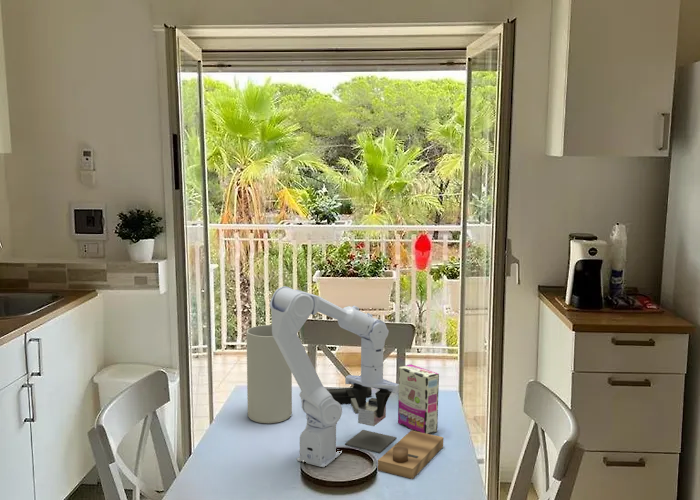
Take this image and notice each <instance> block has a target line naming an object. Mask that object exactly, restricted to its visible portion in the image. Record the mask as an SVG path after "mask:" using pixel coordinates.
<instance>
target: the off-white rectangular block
mask: <svg viewBox="0 0 700 500" xmlns="http://www.w3.org/2000/svg"><path fill="white" fill-rule="evenodd" d="M386 415H387V405H386V406H385V409H384V413H383V416H382V417H380V418H378V417H377V399H376V397H371V398H370V399H368V401H366V403H365V404H364V405H362V406H361V407H359V408H358V414H357V417H358V418H357V419H358V420H357V424H362V425H365V426H369V427H370V426H371V427H375V426H376V425H377V424H379V423H380V422H381V421H383V420H384V419H385V418H386Z"/></svg>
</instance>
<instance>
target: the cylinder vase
mask: <svg viewBox="0 0 700 500" xmlns="http://www.w3.org/2000/svg"><path fill="white" fill-rule="evenodd" d="M292 377H293V374H292V372H291V370H290V368H289V366H288V364H287V362H286V360H285V358H284V356H283V355H282V353H281V351H280V349H279V347H278V345H277V343H276V341H275V339H274V337H273V335H272V324H264V325H256V326H252V327H250V328H249V327H248V328H247V330H246V379H247V380H246V381H247V382H246V385H247V386H246V388H247V416H248V418H249V419H250V420H251V421H253V422H255V423H258V424H259V423H260V424H277V423H280V422H285V421H286V420H288V419H289V418H291V416H292V413H293V399H292V397H293V394H292V393H293V392H292V391H293V390H292V389H293V385H292V381H293V378H292Z"/></svg>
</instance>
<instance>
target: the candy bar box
mask: <svg viewBox="0 0 700 500" xmlns="http://www.w3.org/2000/svg"><path fill="white" fill-rule="evenodd" d="M439 382H440V373H438V372H435V371H432V370H430V369H425V368H424V367H420V366H418V365H414V364H407V365H403V366H399V367H398V384H399V391H398V398H397V399H398V404H397V410H398V411H397V424H399V425H401V426H403V427H406V428H408V429H410V430H412V431H417V432H421V433H426V434H431V435H433V434H435V433H437V432H438V423H439V422H438V420H439V418H438V416H439V415H438V414H439V389H440V388H439V387H440V386H439Z"/></svg>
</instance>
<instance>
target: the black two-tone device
mask: <svg viewBox="0 0 700 500" xmlns="http://www.w3.org/2000/svg"><path fill="white" fill-rule="evenodd" d="M351 388H352V387H343V388H341V387H340V388H326V389H327V391H328V392H329V393H330V394H331V395H332V397H333V399H334V400H335V401H337V402H339V403H340V405H351V407H352V409H353V411H354V413H355V414H357V415H358V408H359V407H358V404H357V401H356V398H355V396H354V395H353V393H352V391H351ZM372 392H373V391H372V388H370V387H368V388H367V395H366V396H367V397H370V396H372V394H373V393H372Z"/></svg>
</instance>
